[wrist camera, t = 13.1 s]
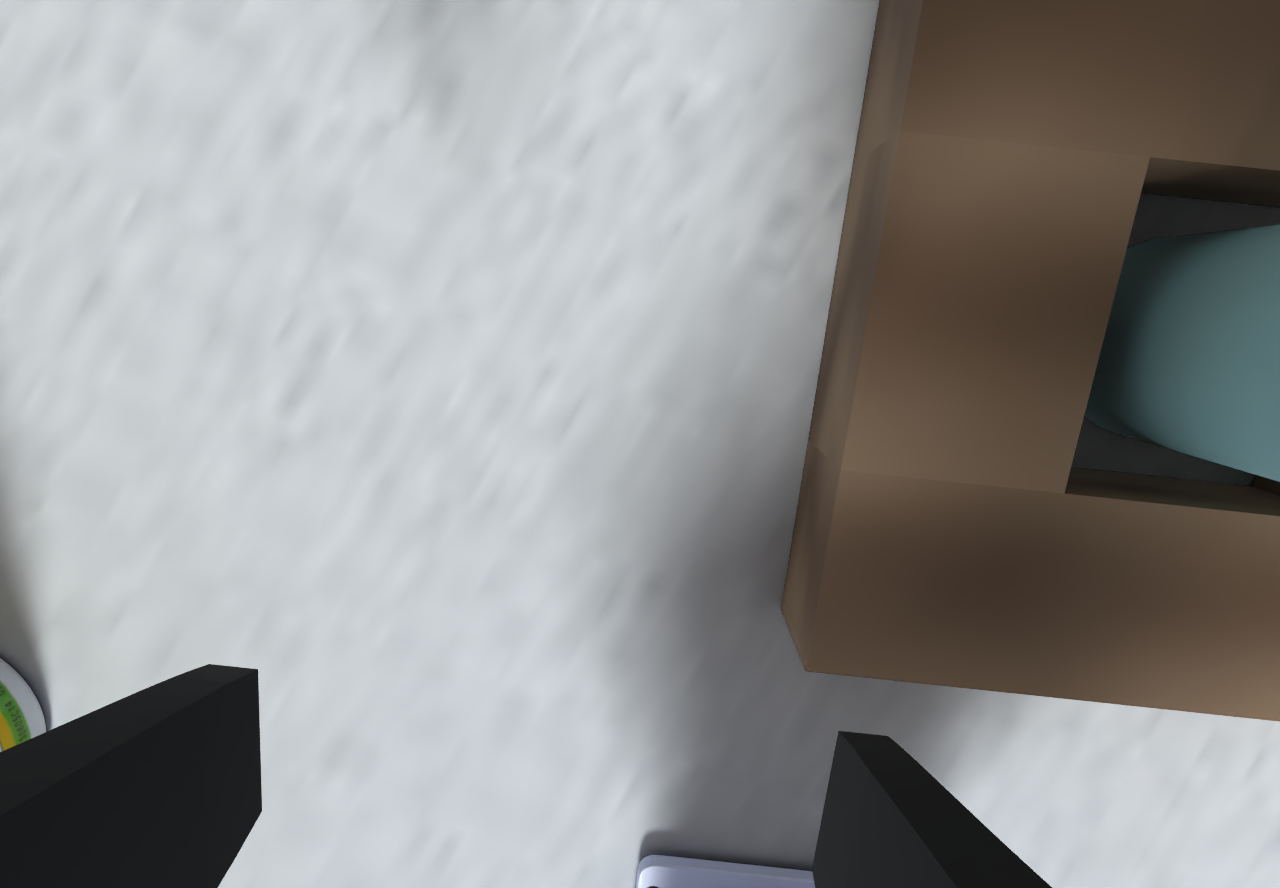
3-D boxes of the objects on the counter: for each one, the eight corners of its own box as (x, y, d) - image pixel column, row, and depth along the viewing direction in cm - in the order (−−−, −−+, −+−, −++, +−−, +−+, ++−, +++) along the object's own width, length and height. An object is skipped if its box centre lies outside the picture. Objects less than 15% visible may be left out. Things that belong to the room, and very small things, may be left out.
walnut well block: (1372, 671, 18) (1514, 746, 15) (780, 609, 18) (805, 671, 15) (1629, 7, 14) (1882, -67, 11) (890, -69, 14) (951, -163, 11)
